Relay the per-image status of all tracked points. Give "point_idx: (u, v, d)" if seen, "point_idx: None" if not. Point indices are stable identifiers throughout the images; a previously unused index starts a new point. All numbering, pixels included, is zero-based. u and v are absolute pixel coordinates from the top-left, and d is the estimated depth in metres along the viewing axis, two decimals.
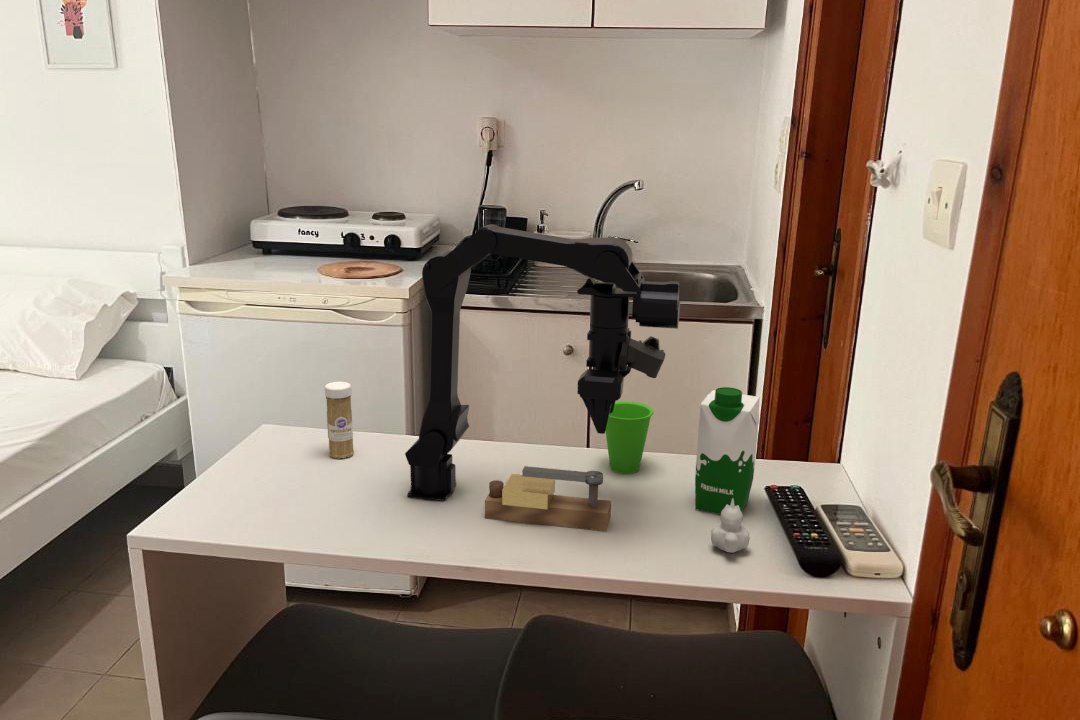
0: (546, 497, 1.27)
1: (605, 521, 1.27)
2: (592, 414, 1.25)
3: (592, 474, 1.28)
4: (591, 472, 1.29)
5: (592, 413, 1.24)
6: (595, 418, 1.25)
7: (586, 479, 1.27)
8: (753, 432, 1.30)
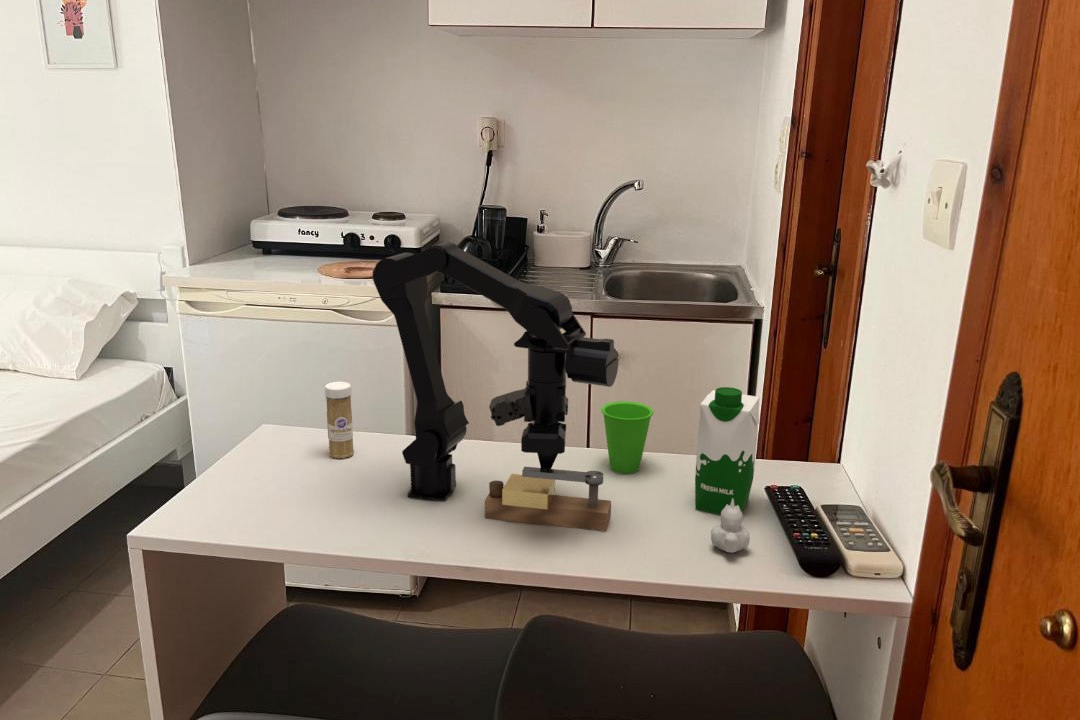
0: (546, 497, 1.27)
1: (605, 521, 1.27)
2: None
3: (592, 474, 1.28)
4: (591, 472, 1.29)
5: None
6: None
7: (586, 479, 1.27)
8: (753, 432, 1.30)
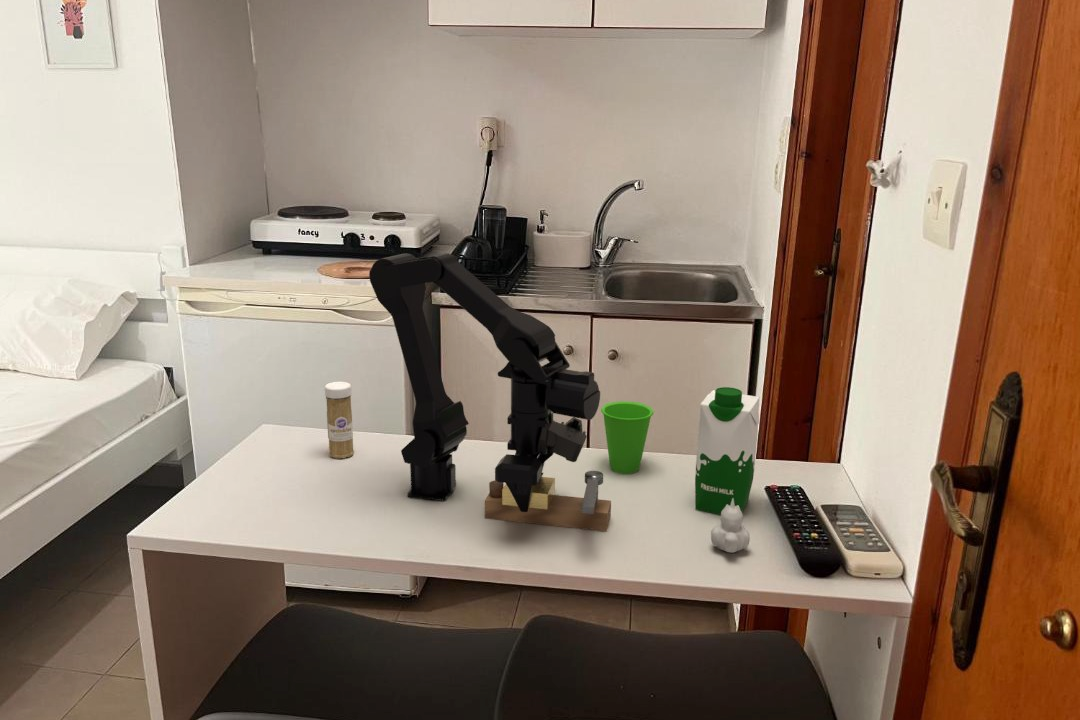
0: (546, 497, 1.27)
1: (605, 521, 1.27)
2: (514, 494, 1.27)
3: (594, 475, 1.28)
4: (589, 475, 1.28)
5: (514, 493, 1.27)
6: (517, 497, 1.27)
7: (599, 480, 1.27)
8: (753, 432, 1.30)
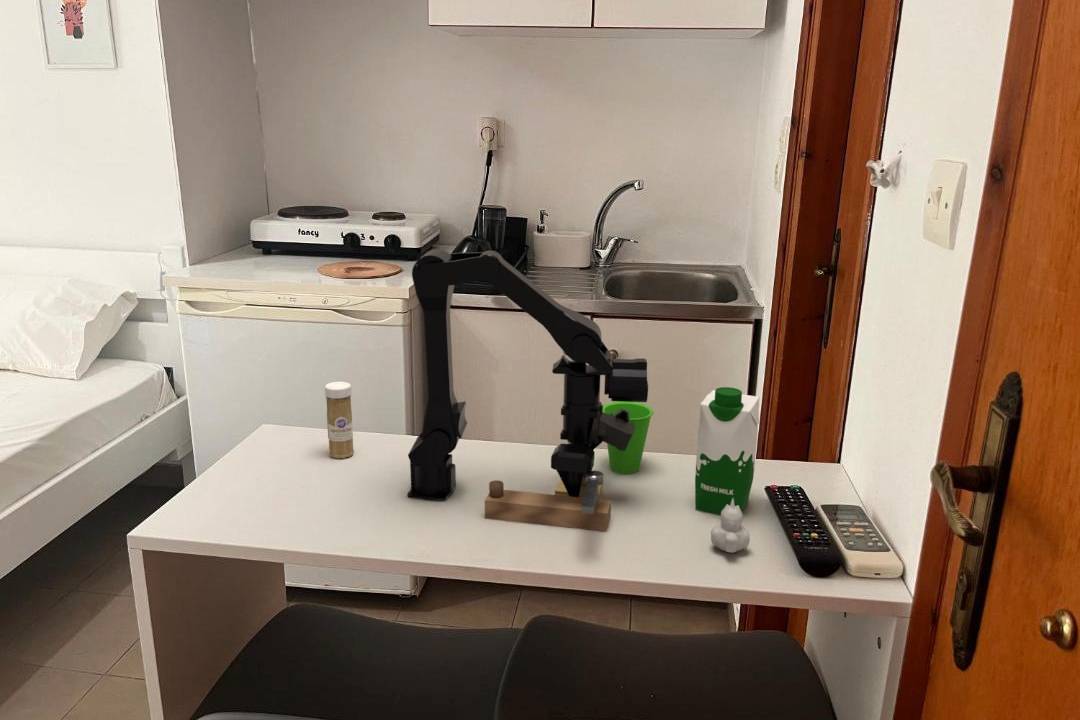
0: None
1: (605, 521, 1.27)
2: (566, 484, 1.33)
3: (594, 475, 1.28)
4: (589, 475, 1.28)
5: (566, 483, 1.33)
6: (569, 487, 1.33)
7: (599, 480, 1.27)
8: (753, 432, 1.30)
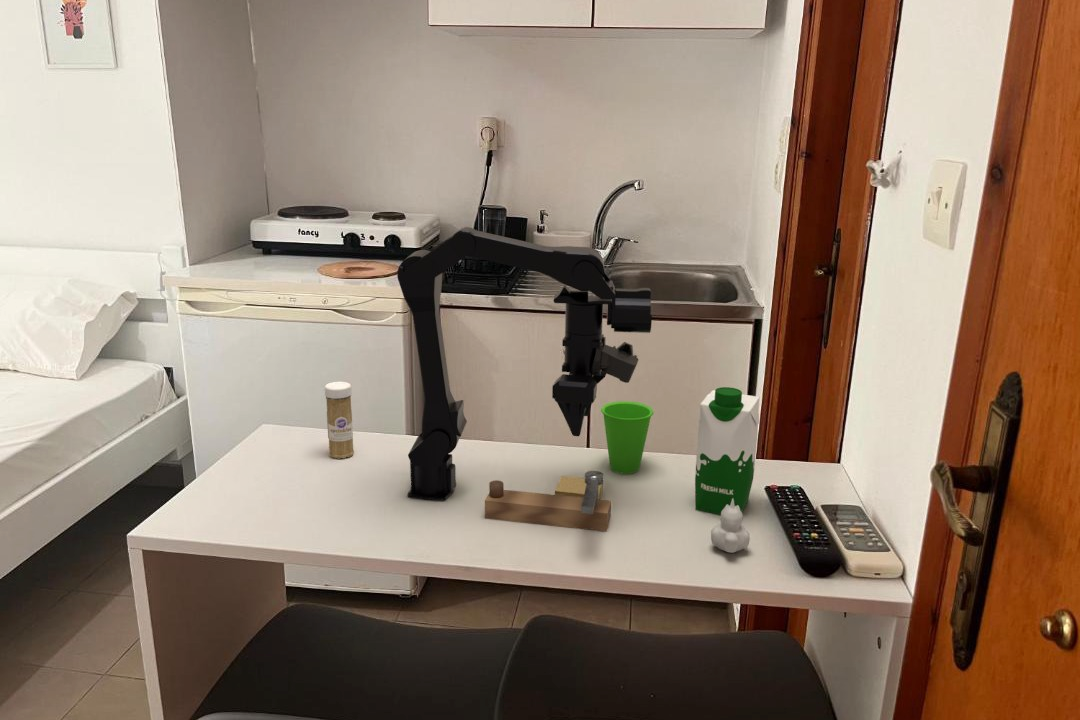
0: None
1: (605, 521, 1.27)
2: (567, 417, 1.29)
3: (594, 475, 1.28)
4: (589, 475, 1.28)
5: (567, 416, 1.29)
6: (570, 421, 1.30)
7: (599, 480, 1.27)
8: (753, 432, 1.30)
